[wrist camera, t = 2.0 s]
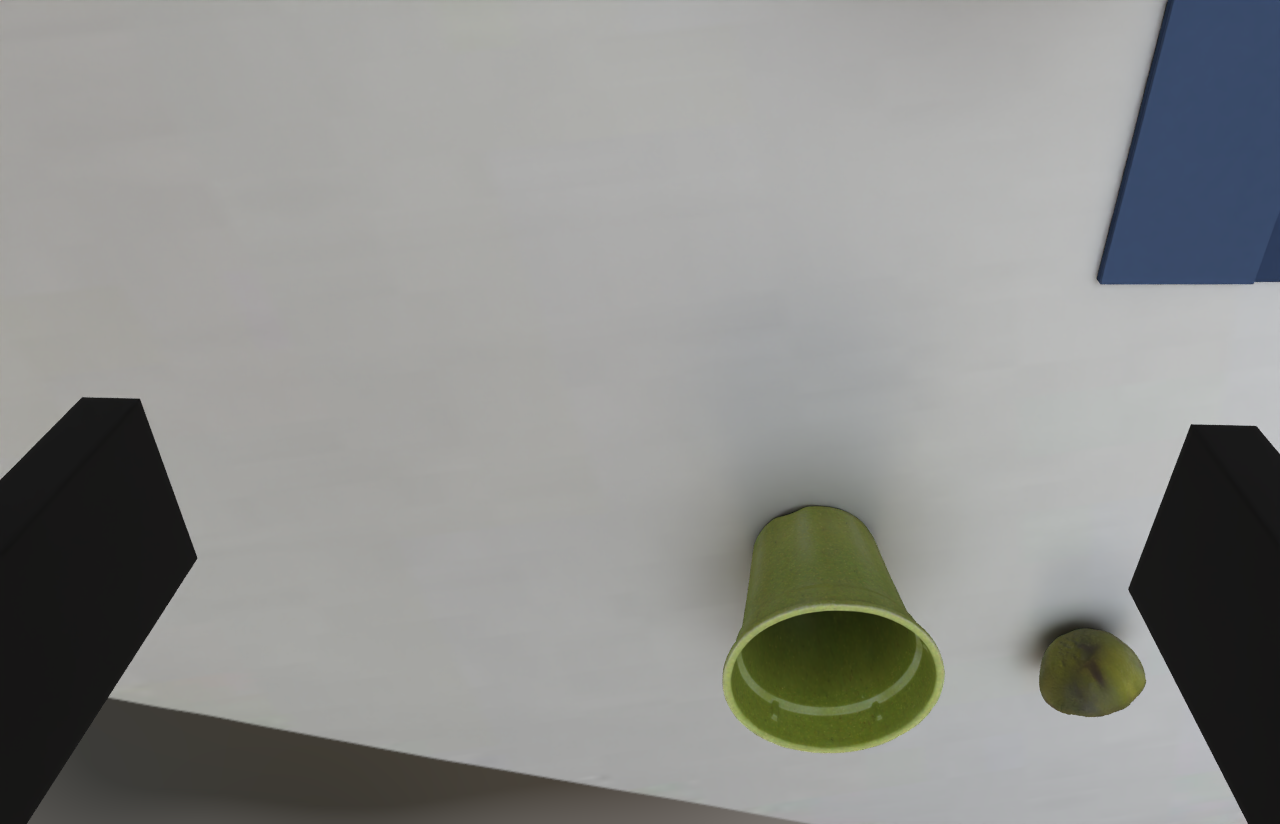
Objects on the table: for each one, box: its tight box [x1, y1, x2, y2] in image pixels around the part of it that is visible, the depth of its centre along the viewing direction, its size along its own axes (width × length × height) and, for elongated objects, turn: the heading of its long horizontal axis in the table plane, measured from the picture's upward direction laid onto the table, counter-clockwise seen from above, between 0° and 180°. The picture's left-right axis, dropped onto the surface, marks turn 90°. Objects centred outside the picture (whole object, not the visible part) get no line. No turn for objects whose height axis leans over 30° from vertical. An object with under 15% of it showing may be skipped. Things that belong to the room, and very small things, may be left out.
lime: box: [1039, 628, 1146, 717], centre depth 49 cm, size 4×5×5 cm
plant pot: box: [723, 506, 945, 753], centre depth 45 cm, size 9×9×9 cm
